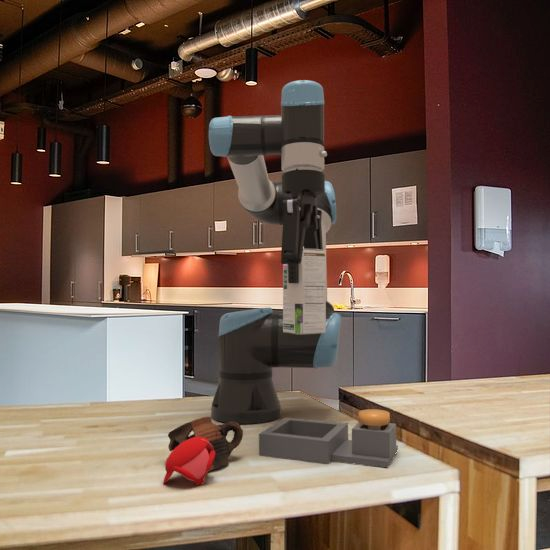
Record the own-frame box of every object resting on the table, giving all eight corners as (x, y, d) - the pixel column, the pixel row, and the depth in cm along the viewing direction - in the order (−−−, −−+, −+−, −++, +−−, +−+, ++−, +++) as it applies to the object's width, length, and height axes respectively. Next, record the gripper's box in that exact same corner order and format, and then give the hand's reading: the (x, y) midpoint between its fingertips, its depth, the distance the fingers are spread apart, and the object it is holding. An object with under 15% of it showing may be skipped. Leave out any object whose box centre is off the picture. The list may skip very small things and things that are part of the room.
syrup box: (281, 332, 92) (280, 250, 93) (310, 331, 95) (309, 251, 95) (297, 335, 87) (297, 248, 88) (327, 333, 90) (326, 248, 90)
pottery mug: (184, 482, 77) (165, 428, 79) (177, 490, 85) (160, 441, 87) (257, 450, 82) (237, 401, 84) (244, 460, 90) (226, 415, 92)
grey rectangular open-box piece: (259, 455, 87) (258, 424, 87) (285, 436, 98) (285, 409, 98) (386, 471, 79) (385, 437, 79) (399, 448, 90) (398, 419, 90)
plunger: (355, 449, 85) (355, 414, 85) (362, 440, 89) (362, 408, 89) (387, 452, 83) (386, 417, 83) (392, 444, 87) (392, 410, 87)
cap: (214, 447, 81) (180, 428, 80) (224, 444, 76) (188, 424, 75) (189, 498, 77) (153, 479, 76) (197, 499, 72) (159, 478, 71)
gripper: (303, 156, 81) (304, 304, 80) (340, 181, 100) (341, 301, 99) (259, 161, 84) (259, 304, 83) (302, 185, 103) (303, 301, 102)
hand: (304, 302), depth 91 cm, fingers closed on syrup box, 8 cm apart
